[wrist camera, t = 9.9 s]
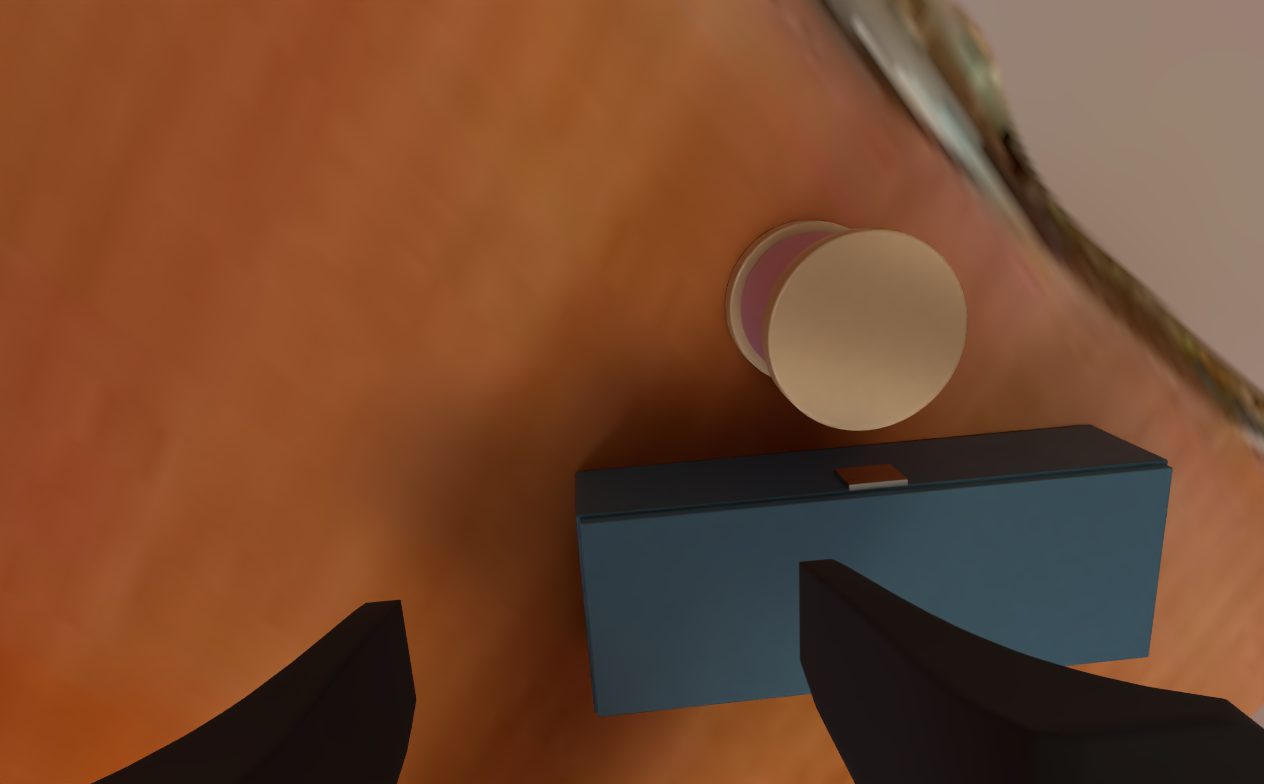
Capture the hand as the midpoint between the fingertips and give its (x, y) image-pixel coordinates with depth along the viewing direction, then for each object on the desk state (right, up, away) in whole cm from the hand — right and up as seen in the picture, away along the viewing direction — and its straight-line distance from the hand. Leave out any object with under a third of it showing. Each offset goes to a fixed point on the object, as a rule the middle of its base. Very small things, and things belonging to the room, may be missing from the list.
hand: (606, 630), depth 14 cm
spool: (+5, +7, +8) cm, 12 cm away
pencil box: (+7, 0, +10) cm, 12 cm away
